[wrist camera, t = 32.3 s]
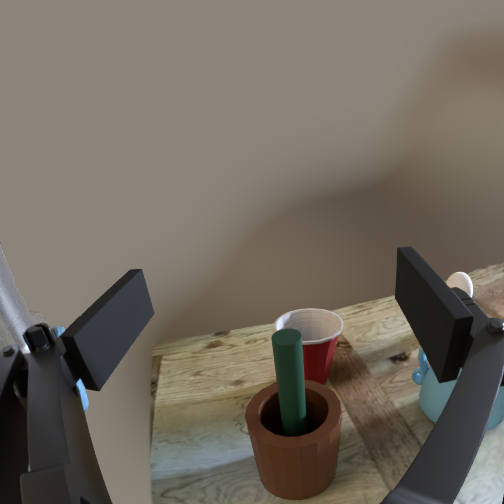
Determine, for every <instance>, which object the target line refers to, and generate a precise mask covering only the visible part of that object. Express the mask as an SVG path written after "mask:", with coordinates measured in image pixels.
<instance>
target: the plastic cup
mask: <svg viewBox="0 0 504 504" xmlns="http://www.w3.org/2000/svg"><path fill="white" fill-rule="evenodd" d="M343 326H344V323H343V320H342V318H341V317H340V316H338V315H337V314H335V313H333V312H330V311H327V310H324V309H313V308H309V309H298V310H295V311H291V312H288V313H286V314H284V315H282V316H280V317H279V318H278V319H277V320H276V322H275V323H274V330H275V332H276V331H278V330H281V329H285V328H292V329H296V330H298V331H300V333H301V334H302V347H303V364H304V380H310V381H315V382H318V383H320V384H323V385H324V384H325V383H326V381H327V378H328V375H329V370H330V367H331V364H332V359H333V355H334V350H335V346H336V342H337V339H338V336H339V334H340V333H341V331H342V328H343Z"/></svg>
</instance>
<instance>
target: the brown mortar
mask: <svg viewBox="0 0 504 504" xmlns="http://www.w3.org/2000/svg"><path fill="white" fill-rule="evenodd" d="M304 383H305V405H306V431H307V434H306V435H302V436H299V437H284V435H283V427H282V419H281V411H280V402H279V394H278V386H277V383H275V384H272V385H270V386H268V387H266V388H264V389H262V390H261V391H260V392H259V393H257V394H256V395H255V396H254V397H253V398H252V400H251V401H250V403H249V404H248V406H247V410H246V415H245V419H246V423H247V427H248V431H249V435H250V439H251V443H252V447H253V451H254V455H255V459H256V463H257V467H258V471H259V474H260V478H261V481H262V483H263V485H264V486H265V488H266V489H267V490H268V491H269V492H271V493H272V494H274V495H275V496H277V497H280V498H283V499H288V500H303V499H307V498H311V497H313V496H316V495H318V494H319V493H321V492H322V491H324V490H325V489H326V488H327V487H328V486H329V485H330V484H331V482H332V480H333V479H334V476H335V472H336V468H337V459H338V451H339V441H340V431H341V420H342V407H341V402H340V400H339V398H338V397H337V395H336V393H335V392H334V391H332V390H331V389H330V388H328V387H327V386H325V385H323V384H320V383H318V382H315V381H310V380H304Z"/></svg>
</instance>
